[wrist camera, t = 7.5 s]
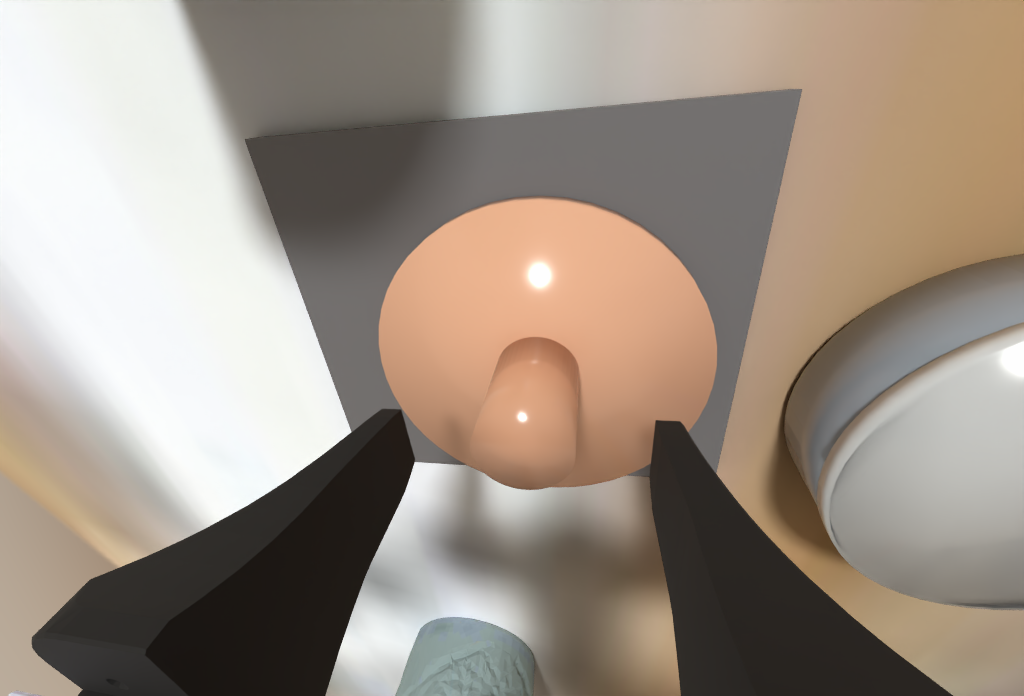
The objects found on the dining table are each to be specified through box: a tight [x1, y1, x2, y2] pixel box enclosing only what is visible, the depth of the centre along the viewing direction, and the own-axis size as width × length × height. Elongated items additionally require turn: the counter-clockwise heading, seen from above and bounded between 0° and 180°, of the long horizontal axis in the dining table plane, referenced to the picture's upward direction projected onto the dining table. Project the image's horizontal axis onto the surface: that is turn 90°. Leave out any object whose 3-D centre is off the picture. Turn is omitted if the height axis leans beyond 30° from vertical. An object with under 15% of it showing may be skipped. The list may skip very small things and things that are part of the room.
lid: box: [379, 196, 717, 490], centre depth 14 cm, size 12×12×5 cm
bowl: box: [784, 254, 1024, 610], centre depth 13 cm, size 11×11×4 cm
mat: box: [245, 89, 802, 477], centre depth 16 cm, size 16×14×1 cm
